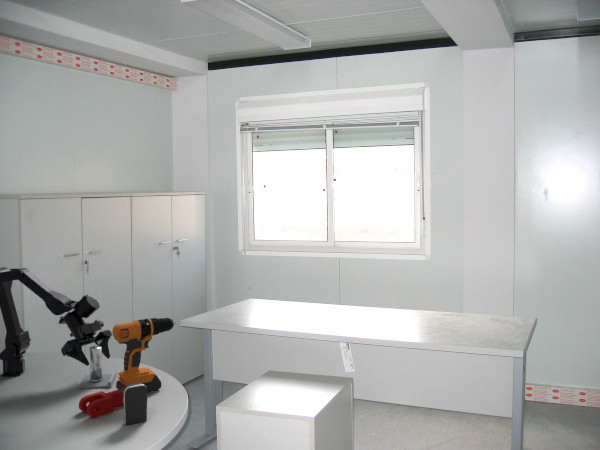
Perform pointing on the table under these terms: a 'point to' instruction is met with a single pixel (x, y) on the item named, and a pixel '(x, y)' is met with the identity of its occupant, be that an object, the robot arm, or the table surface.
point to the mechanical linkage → (101, 403)
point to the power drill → (139, 350)
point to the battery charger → (134, 403)
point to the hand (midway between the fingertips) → (99, 361)
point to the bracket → (105, 383)
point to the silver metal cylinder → (96, 364)
